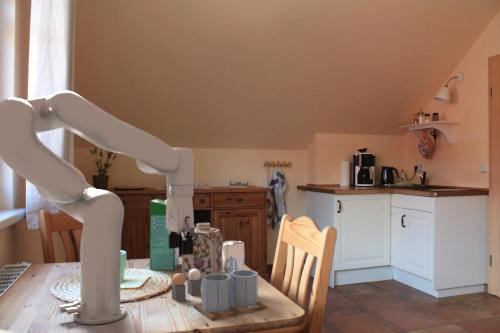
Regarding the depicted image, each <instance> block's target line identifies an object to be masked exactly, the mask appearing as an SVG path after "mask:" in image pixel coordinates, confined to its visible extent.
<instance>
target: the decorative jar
mask: <svg viewBox="0 0 500 333" xmlns="http://www.w3.org/2000/svg"><path fill="white" fill-rule="evenodd" d="M194 233H195V234H194V240H193V254H188V255H182V254H181V274H183V275H184V277H185V280H188V279H189V277H188V273H189V271H190V270H192V269H198V270H199V271H200V278H199V280H201V281H202V277H203V276H205V275H208V274H222V273H223V270H222V263H221V251H222V242H224V240H223V235H224V234H223V233H222V231H221V229H219V228H216V227H211V223H210V222H198V223H196V224H195V230H194ZM186 234H187V233H185V235H186Z"/></svg>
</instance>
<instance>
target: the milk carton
mask: <svg viewBox="0 0 500 333" xmlns="http://www.w3.org/2000/svg"><path fill="white" fill-rule="evenodd" d="M149 205H150V206H149V210H150V211H149V270H153V271H155V270H156V271H157V270H158V271H159V270H160V271H162V270H163V271H164V270H165V271H168V270H169V271H174V270H176V269H177V267H178V265H179V264H180V247H179V248H172V249H170V248H169V234H168V229H167V228H166V205H167V199H165V200H163V199H159V198H155V199H152V200H150V201H149ZM178 234H179V235H180V232H179V233H178Z"/></svg>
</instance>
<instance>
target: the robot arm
mask: <svg viewBox="0 0 500 333" xmlns="http://www.w3.org/2000/svg"><path fill="white" fill-rule="evenodd" d="M62 128H64V129H66V130H68V131H69V132H70V133H73V134H75V135H76V136H79V137H80V138H82V139H84V140H86V141H88V142H89V143H91V144H93V145H95V146H96V147H98V148H100V149H103V150H105V151H107V152H112V153H115V154H116V153H118V154H120V155H124V156H127V157H129V158H132V159H135V164H136V166H137V169H139V170H140V171H142V172H143V173H145V174H148V175H164V176H166V197H167V198H166V200H167V205H166V228H167V229H168V234H169V248H170V249H172V248H179V249H180V243H181V256H182V255H188V254H193V240H194V234H195V233H194V230H195V228H196V224H195V223H194V222H195V220H194V219H195V218H194V206H193V205H194V204H193V197H194V153H193V150H192V149H191V148H189V147H172V146H171V145H169V144H168V143H166V142H165V141H163V140H162V139H160V138H158V137H157V136H155V135H153V134H151V133H149V132H147V131H146V130H143V129H140V128H138V127H137V126H134V125H131V124H130V123H129V122H125V121H123V120H122V119H121V120H120V119H119V118H117V117H115V116H114V115H111V113H109V112H107V111H105V110H104V109H102V108H100V107H99V106H97V105H95V104H94V103H92V102H91V101H89V100H87V99H86V98H84V97H82V96H81V95H79V94H77V93H76V92H73V91H70V90H60V91H57V92H54V93H53V94H50V95H46V96H42V97H37V98H31V99H23V98H20V97H19V98H18V97H8V98H6V99H5V98H4V99H2V100H1V101H0V159H2V161H3V162H4V164H6V166H7V167H9V168H10V169H11V170H13V171H14V172H15V173H17V174H18V175H20V177H22V178H23V179H24V180H26V181H27V182H28V183H30V184H32V185H33V186H34V187H35V189H36V190H37V193H38V194H39V195H40V196H41V197H42V198H43V199H45V200H46V201H47V202H49V203H50V204H52V205H53V206H55V207H56V208H58V209H59V210H61V211H62V212H64V213H66V214H67V215H68V216H70V217H72V218H73V219H75V221H78V222H79V223H82V224H83V226H82V232H81V236H80V237H81V239H80V278H79V279H80V283H79V284H80V286H79V288H80V291H79V292H80V294H79V296H80V297H77V301H73V303H69V304H68V303H66V304H65V303H64V304H60V305H59V307H58V308H59V314H65V313H66V315H72V314H73V320H74V321H75V322H76V323H79V324H83V325H103V324H109V323H112V322H116V321H118V320H121V319H123V318H124V317H125V316H126V315H127V314H128V313H127V310H128V309H127V307H126V306H125V305H123V304H121V279H122V278H121V270H122V269H121V268H122V267H121V262H122V259H121V258H122V254H121V252H122V251H121V250H122V249H121V248H122V245H121V244H122V230H123V224H124V218H125V217H124V216H125V208H124V204H123V201H122V200H121V198H120V197H119V196H118V195H117V194H116V193H114V192H111V191H109V190H106V189H99V188H98V189H97V188H96V187H94V186H93V185H91V184H90V183H89V182H87V180H86V177H85V176H84V174H83V173H82V172H81V171H80V169H78V168H77V167H75V166H73V165H72V164H71V163H69V162H67V161H66V159H63V158H62V157H60V156H59V155H58V154H56V153H55V152H54V151H52V150H51V149H50V148H49V147H47V145H45V144H44V143H43V142H42V140H40V138H39V137H38V134H39V133H45V132H49V131H53V130H59V129H62ZM178 233H179V234H178ZM185 233H187V234H186V235H185ZM180 235H181V237H182V240H181V242H180Z"/></svg>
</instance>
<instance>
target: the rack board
mask: <svg viewBox="0 0 500 333" xmlns="http://www.w3.org/2000/svg"><path fill="white" fill-rule="evenodd" d="M192 305H193V306H192V307H193V309H195V310H197V311H198V312H199V313H201V314H202V315H204V317H207V318H208V319H209V320H211V321H215V320H221V319H226V318H231V317H235V316H240V315H243V314H249V313H254V312H258V311H264V310H267V309H268V305H266V304H265V303H263V302H261V301H259V300H258V302H257V304H256V305H254V306H249V307H238V306H234V305H232V304H231V308H230V309H229V310H228V311H224V312H219V313H213V312H206V311H204V310H203V309H202V302H199V303H193V304H192Z"/></svg>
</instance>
